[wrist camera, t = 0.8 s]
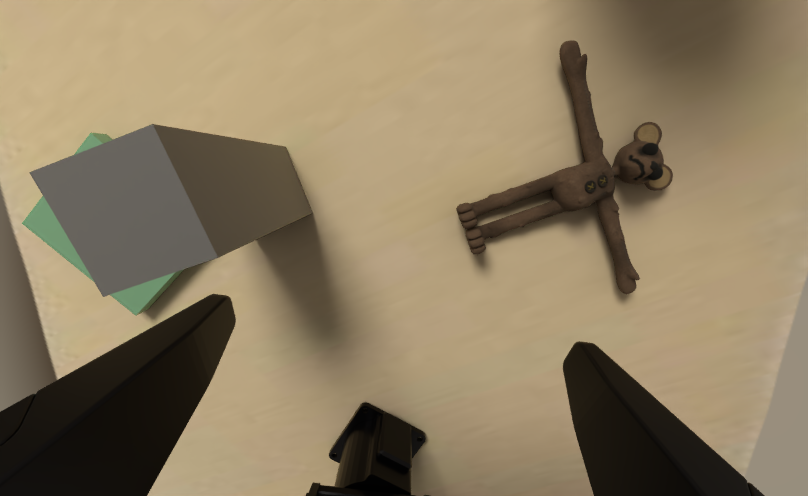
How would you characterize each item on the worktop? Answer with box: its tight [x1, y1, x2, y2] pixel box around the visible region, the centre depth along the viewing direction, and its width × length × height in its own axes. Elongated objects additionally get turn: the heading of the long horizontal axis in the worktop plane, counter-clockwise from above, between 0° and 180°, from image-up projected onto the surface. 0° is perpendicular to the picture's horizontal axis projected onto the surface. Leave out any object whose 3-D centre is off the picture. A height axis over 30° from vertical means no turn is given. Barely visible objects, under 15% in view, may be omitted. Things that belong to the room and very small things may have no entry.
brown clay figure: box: [457, 41, 673, 294], centre depth 23 cm, size 18×4×14 cm
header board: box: [22, 133, 184, 315], centre depth 24 cm, size 10×9×3 cm
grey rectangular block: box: [29, 124, 312, 297], centre depth 18 cm, size 5×5×12 cm
